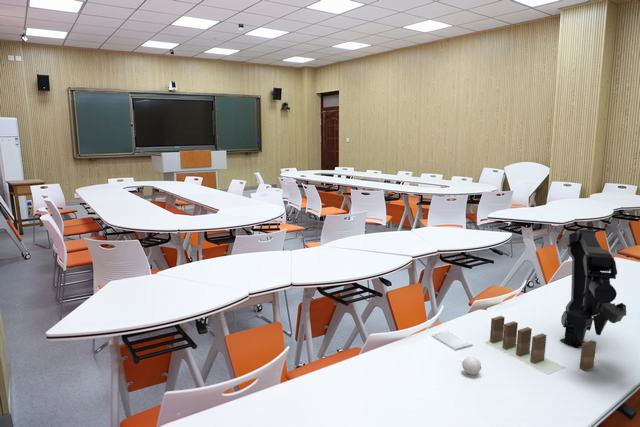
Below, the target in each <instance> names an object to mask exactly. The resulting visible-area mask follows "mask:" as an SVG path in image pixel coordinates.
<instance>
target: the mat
mask: <svg viewBox="0 0 640 427" xmlns="http://www.w3.org/2000/svg"><path fill="white" fill-rule="evenodd" d="M484 343H485V344H486V345H488V346H490V347H493V348H495V349H497V350H499V351H500V352H503V353H504V354H507V355H508V356H511V357H513V358H514V359H517V360H518V361H520V362H522V363H524V364H526V365H529V366H530V367H533V368H534V369H536V370H538V371H540V372H542V373H545V374H547V375H550V374H553V373H556V372H558V371H561V370H562V369H566V366H564V365H561V364H559V363H558V362H555V361H553V360H551V359H549V358H547V357H544V361H541V362H539V363H536V364H533V363H531V362H530V358H531V350H530V353H529V354H526V355H524V356H521V357H519V356H517V355H516V347H517V343H516V347H514V348H511V349H508V350H505V349H503V348H502V347H503V341H500V342H497V343H494V344H493V343H491V342H490V340H488V341H484Z"/></svg>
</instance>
